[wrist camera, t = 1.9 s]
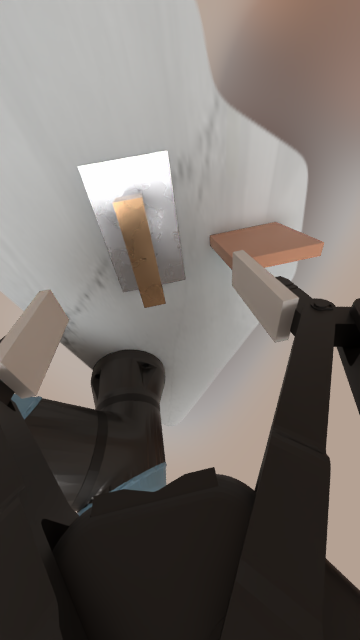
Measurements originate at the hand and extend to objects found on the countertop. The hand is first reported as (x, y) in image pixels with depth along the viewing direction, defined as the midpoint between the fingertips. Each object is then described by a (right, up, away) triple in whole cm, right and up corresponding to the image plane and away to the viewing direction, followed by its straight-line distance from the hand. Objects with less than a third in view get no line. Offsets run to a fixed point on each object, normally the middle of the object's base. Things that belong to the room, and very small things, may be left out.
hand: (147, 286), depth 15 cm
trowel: (-3, +10, +13) cm, 17 cm away
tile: (+12, +10, +15) cm, 22 cm away
